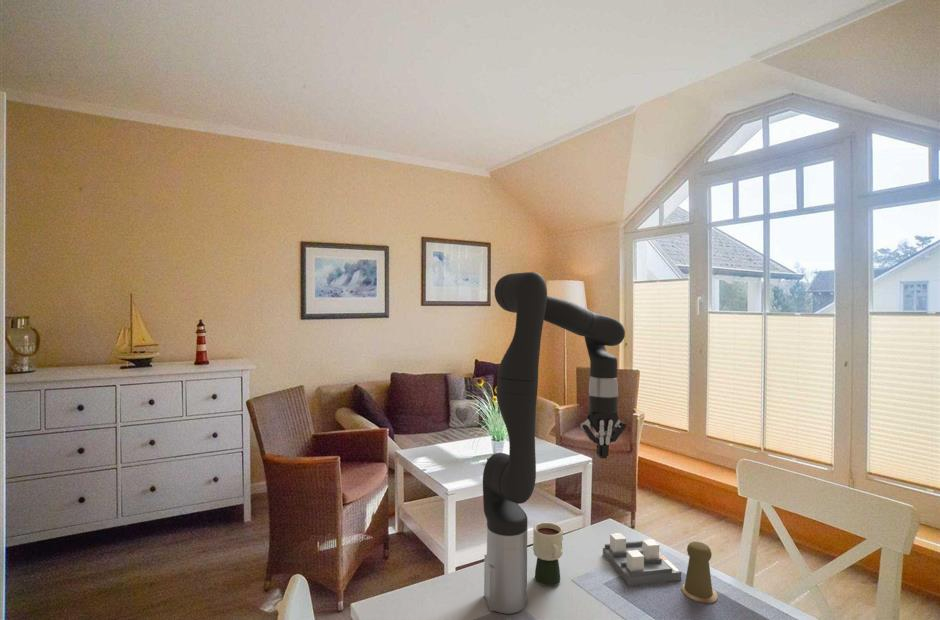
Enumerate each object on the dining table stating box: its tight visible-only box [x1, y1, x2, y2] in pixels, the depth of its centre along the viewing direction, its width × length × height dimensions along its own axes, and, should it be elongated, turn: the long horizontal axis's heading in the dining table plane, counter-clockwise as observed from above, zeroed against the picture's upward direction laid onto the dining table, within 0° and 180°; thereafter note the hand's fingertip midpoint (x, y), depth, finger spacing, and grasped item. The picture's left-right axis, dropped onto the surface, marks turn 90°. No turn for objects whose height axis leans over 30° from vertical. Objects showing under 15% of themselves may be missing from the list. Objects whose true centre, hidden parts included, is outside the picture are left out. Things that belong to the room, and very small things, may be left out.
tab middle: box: [641, 538, 660, 559], centre depth 123 cm, size 3×3×4 cm
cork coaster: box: [681, 582, 718, 604], centre depth 111 cm, size 8×8×1 cm
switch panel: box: [602, 540, 682, 586], centre depth 122 cm, size 14×14×3 cm
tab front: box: [626, 550, 644, 571], centre depth 117 cm, size 3×3×4 cm
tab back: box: [609, 532, 627, 553], centre depth 126 cm, size 3×3×4 cm
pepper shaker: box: [684, 541, 713, 598], centre depth 111 cm, size 6×6×11 cm
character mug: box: [532, 521, 564, 586], centre depth 116 cm, size 11×7×13 cm, turn 12°
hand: (602, 457), depth 126 cm, fingers closed
